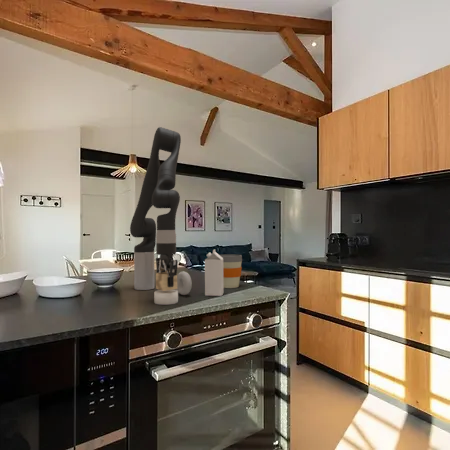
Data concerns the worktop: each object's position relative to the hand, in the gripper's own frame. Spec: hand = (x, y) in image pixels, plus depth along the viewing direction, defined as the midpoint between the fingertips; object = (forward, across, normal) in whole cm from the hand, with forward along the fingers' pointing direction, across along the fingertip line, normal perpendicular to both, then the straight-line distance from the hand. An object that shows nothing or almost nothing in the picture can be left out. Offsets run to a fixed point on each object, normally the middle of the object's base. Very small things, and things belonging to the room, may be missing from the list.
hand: (166, 285), depth 130 cm
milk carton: (+6, +1, -23) cm, 24 cm away
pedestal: (+6, 0, 0) cm, 6 cm away
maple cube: (+1, 0, 0) cm, 1 cm away
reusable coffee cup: (+6, +13, -40) cm, 42 cm away
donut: (+6, +8, -12) cm, 16 cm away
